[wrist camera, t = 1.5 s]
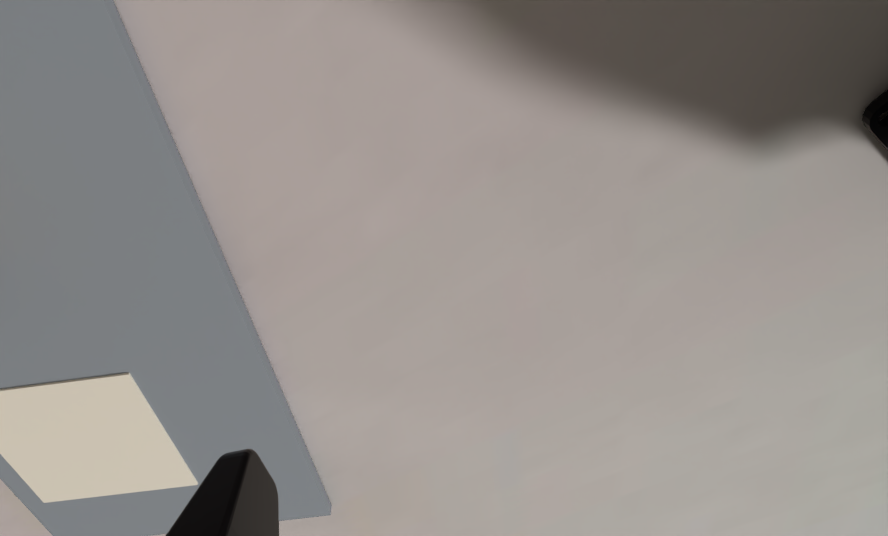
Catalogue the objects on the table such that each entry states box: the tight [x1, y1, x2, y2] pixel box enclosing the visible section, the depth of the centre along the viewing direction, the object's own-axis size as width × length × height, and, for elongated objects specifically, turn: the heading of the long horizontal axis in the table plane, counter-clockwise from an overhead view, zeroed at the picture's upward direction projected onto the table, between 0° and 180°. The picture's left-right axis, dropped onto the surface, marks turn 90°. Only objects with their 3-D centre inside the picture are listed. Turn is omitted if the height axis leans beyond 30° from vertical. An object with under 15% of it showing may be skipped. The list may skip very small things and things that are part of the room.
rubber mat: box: [0, 0, 332, 536], centre depth 24 cm, size 26×13×1 cm, turn 8°
